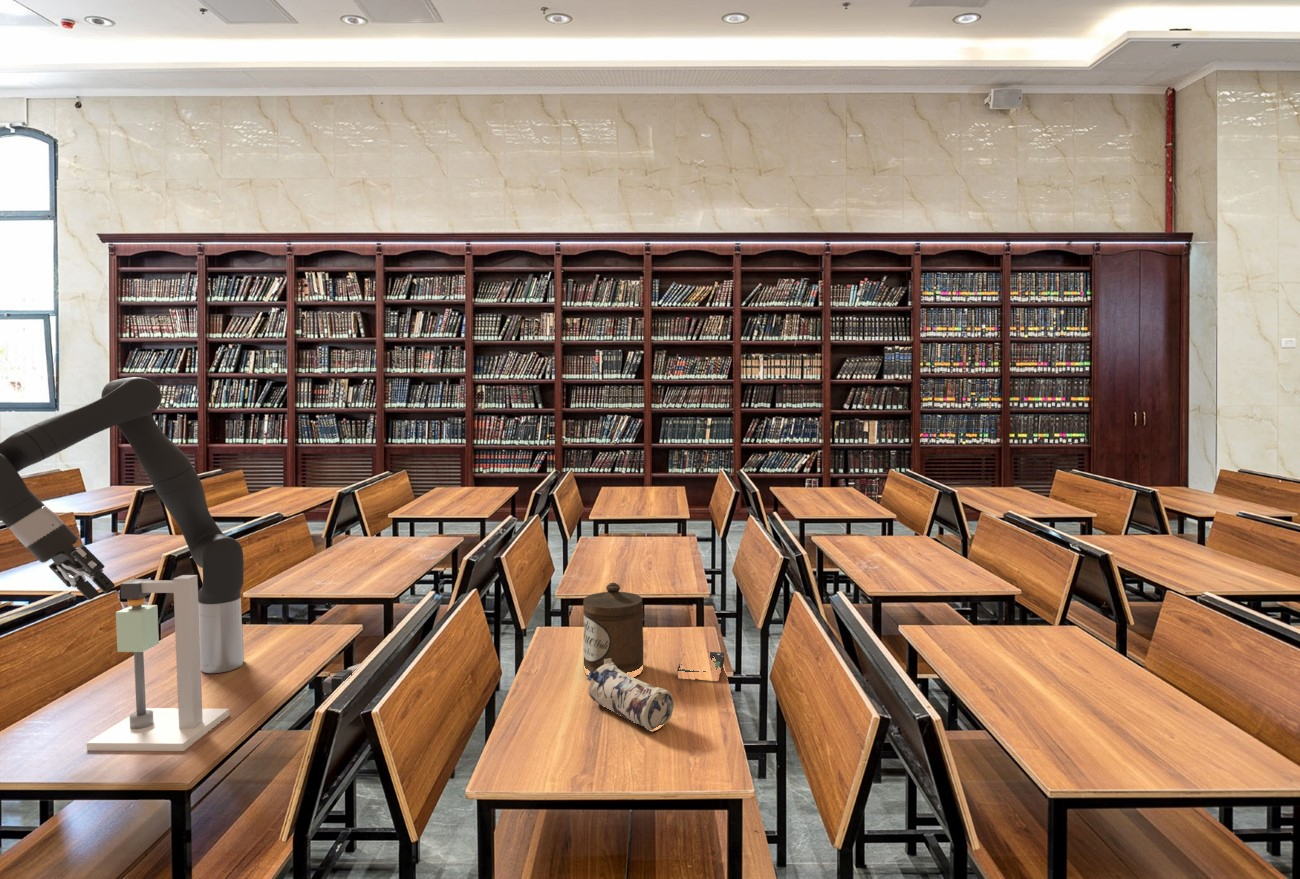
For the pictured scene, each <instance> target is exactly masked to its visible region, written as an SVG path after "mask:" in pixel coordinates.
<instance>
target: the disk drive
mask: <svg viewBox="0 0 1300 879" xmlns="http://www.w3.org/2000/svg"><path fill="white" fill-rule="evenodd" d="M709 652H710V658H711V660H712V658H714V657H715V659H716V661H713V662H714V663H716V664H715V665H716V666H715V667H716V670H717V668H718V666H719V667H720V668H721V667H722V668H723V667H724V663H725V652H720V651H717V652H716V651H709ZM713 656H714V657H713ZM681 665H682V664H681ZM679 668H680V666H679V665H678V667H677V671H685V672H699V671H694V670H693V671H690V670H685V669H682V670H681V669H680V670H679ZM703 672H706V671H703Z"/></svg>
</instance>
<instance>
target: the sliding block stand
mask: <svg viewBox="0 0 1300 879" xmlns="http://www.w3.org/2000/svg"><path fill="white" fill-rule="evenodd" d="M198 592H199V586H198V574H182V575H178V576H177V577H173V579H172V580H167V579H166V580H165V579H164V580H162V579H160V580H159V579H158V580H157V579H155V580H154V579H150V578H146V579H145V578H133V579H130V580H126V581H124V582H122V583H120V598H121V599H120V600H123V599H124V600H127V607H129V606H132V610H140V609H142V605H146V603H147V602H146V597H147V596H149V595H152V594H163V593H164V594H173V606H174V607H173V611H174V631H175V633H174V637H175V657H176V658H175V660H176V685H177V688H176V689H177V708H172V707H171V708H170V707H169V708H167V707H164V708H163V707H157V708H156V707H155V708H154V707H147V701H146V682H145V658H144V657H145V656H144V652H145V651H144V652H133V663H134V685H135V706H136V708H135V710H136V712H134V713H131V714H129V715H128V716H127V717H126V718H124V719H122V720H121V721H119V722H118V723H116V724H115V725H113V726H111V727H110V728H108V729H106V730H105V731H103V732H102V733H100V734H99V735H97V736H95V737H94V738H91V740H89V741H88V742H86V751H88V750H89V751H90V752H91V751H94V752H95V751H104V752H105V751H108V752H111V751H115V752H116V751H118V752H123V751H125V752H127V751H128V752H130V751H131V752H137V751H138V752H184V751H186V750H187V749H188V748H190V746H192V745H193V744H195V743H196V742H197V741H198V740H199V739H200V740H201V738H202V737H203V736H205V735H206V734H208V733H209V732H210V731H211V730H213V729H214V728H215V727H216V726H218V725H219V724H221V723H222V722H223V721H224V720H226V719H227V718H228V717H230V708H203V701H202V700H203V695H202V694H203V693H202V673H201V672H202V671H201V660H200V630H199V604H198ZM221 721H222V722H221ZM217 724H218V725H217ZM212 728H213V729H212ZM208 731H209V732H208Z"/></svg>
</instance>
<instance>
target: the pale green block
mask: <svg viewBox="0 0 1300 879" xmlns="http://www.w3.org/2000/svg"><path fill="white" fill-rule="evenodd" d="M158 612H159V611H158V605H157V604H143V605H142V609H140V610H132V606H127V607H125V608H122V609H120V610H117V611H115V627H116V647H117V648H116V649H117V653H134V652H145V651H147V650H149V649H152V648H153V647H155V646H157V645H159V644H160V640H159V639H160V638H159V617H158V616H159V615H158Z"/></svg>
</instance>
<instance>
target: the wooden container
mask: <svg viewBox="0 0 1300 879" xmlns="http://www.w3.org/2000/svg"><path fill="white" fill-rule="evenodd" d="M605 587H606V588H605V589H606V591H602V592H595V593H592V594H590V595H586V596H585V597H584V598H583V603H582V604H583V607H582V609H583V638H582V642H583V643H582V644H583V648H582V649H583V650H582V651H583V652H582V653H583V667H584V666H585V668H586V669H588V670H589V671H593V672H594V673H595V671H596V670H597V669H598V668H599V667H601V666H602V665H604V659H609V658H611V661H612V662H613V663H614V665H616V666H617V667H618V669H619V670H621V671H622V672H624V673H627V672H632V671H635V670H637V669H639V668H640V667H641V666H642V665H643V666H644V627H643V626H644V622H643V618H644V617H643V598H642V597H641V596H640V595H638V594H636V593H632V592H625V591H620V590H621V586H620V585H619V584H617V583H616V582H610V583H609V584H607V585H606V586H605Z"/></svg>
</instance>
